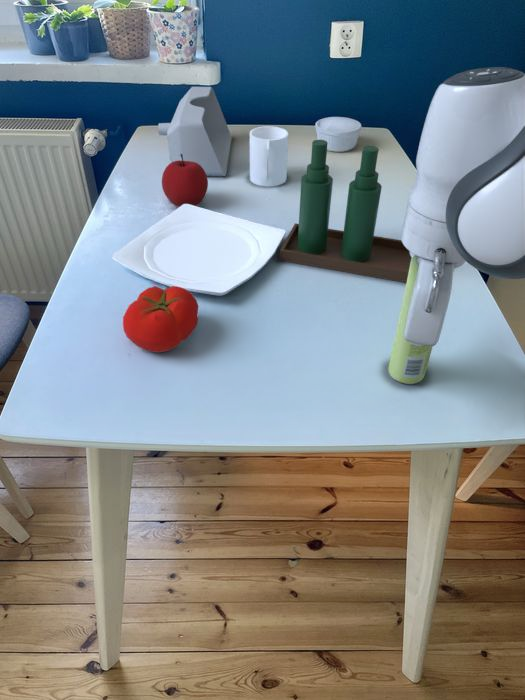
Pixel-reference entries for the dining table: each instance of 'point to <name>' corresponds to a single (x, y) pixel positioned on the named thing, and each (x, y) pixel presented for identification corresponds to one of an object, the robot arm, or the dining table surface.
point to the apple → (184, 183)
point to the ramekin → (338, 133)
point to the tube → (405, 357)
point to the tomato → (161, 318)
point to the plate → (201, 250)
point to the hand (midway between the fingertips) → (419, 326)
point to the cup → (268, 156)
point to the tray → (383, 263)
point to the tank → (199, 132)
